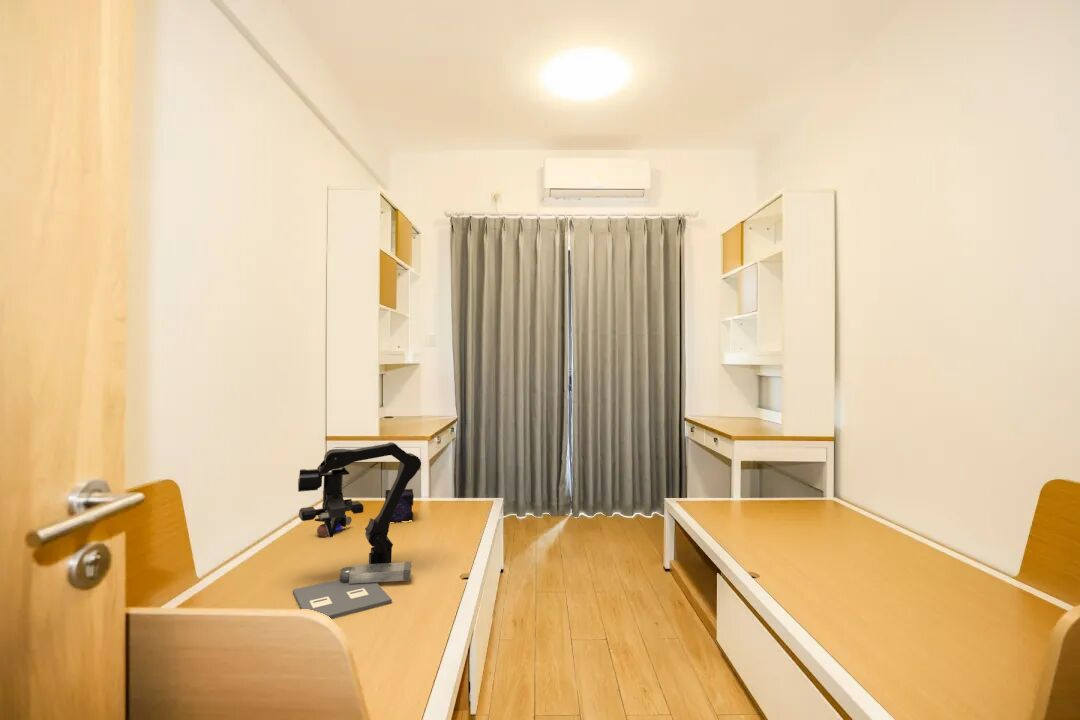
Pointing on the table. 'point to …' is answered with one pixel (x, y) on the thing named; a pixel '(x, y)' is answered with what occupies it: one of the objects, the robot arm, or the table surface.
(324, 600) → the label board
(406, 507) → the energy cube
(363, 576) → the grey long block
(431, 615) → the table surface
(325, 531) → the figurine character
